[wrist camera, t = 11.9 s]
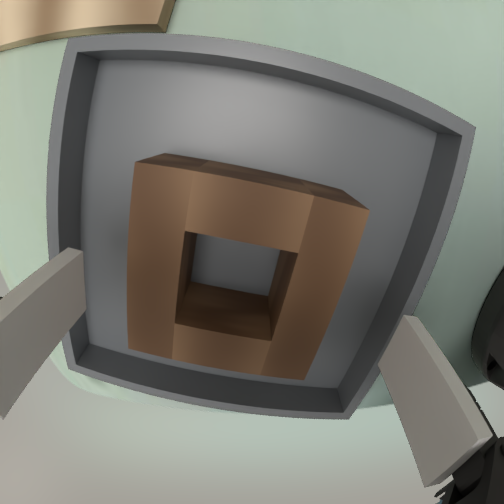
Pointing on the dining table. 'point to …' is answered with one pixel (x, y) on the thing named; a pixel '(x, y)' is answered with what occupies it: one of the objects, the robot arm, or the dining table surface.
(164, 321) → the collar
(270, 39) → the dining table surface
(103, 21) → the stake stand
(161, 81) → the tray
